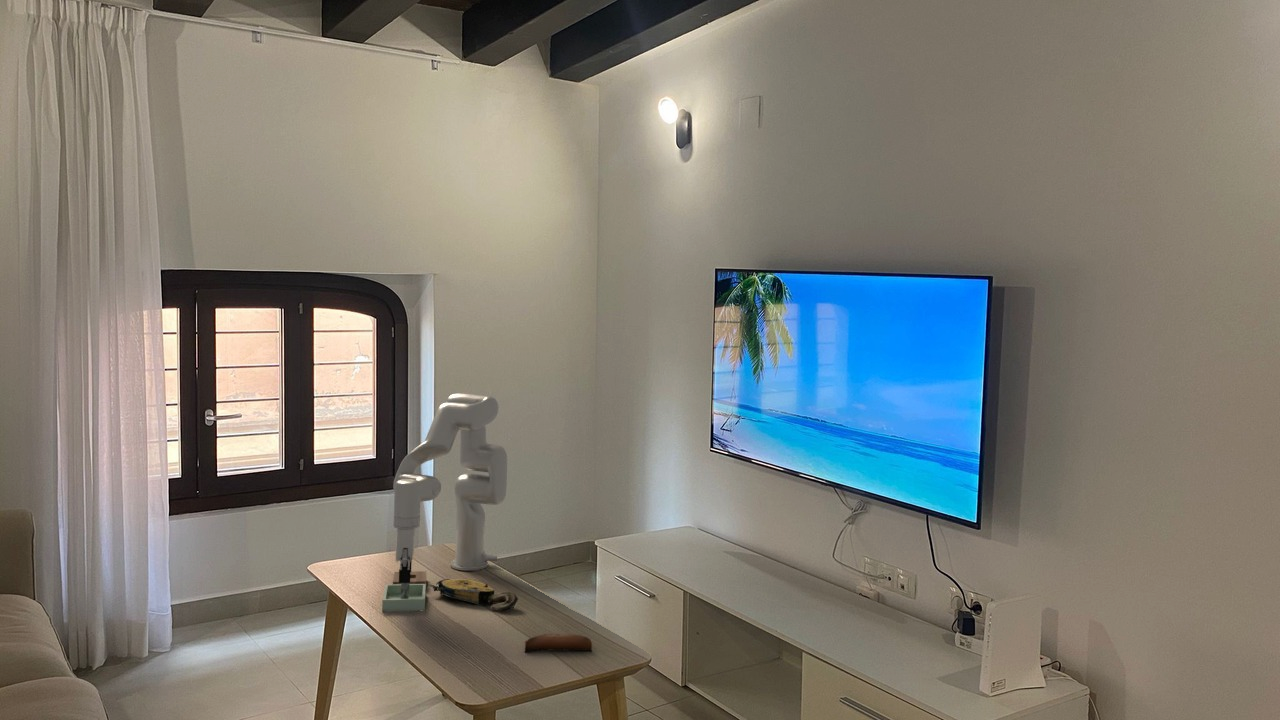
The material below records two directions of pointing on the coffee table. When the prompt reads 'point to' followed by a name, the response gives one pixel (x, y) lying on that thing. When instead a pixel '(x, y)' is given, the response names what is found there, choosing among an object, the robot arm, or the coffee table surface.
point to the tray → (396, 604)
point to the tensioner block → (412, 577)
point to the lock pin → (404, 591)
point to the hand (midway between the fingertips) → (405, 577)
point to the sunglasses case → (558, 643)
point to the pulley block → (476, 593)
